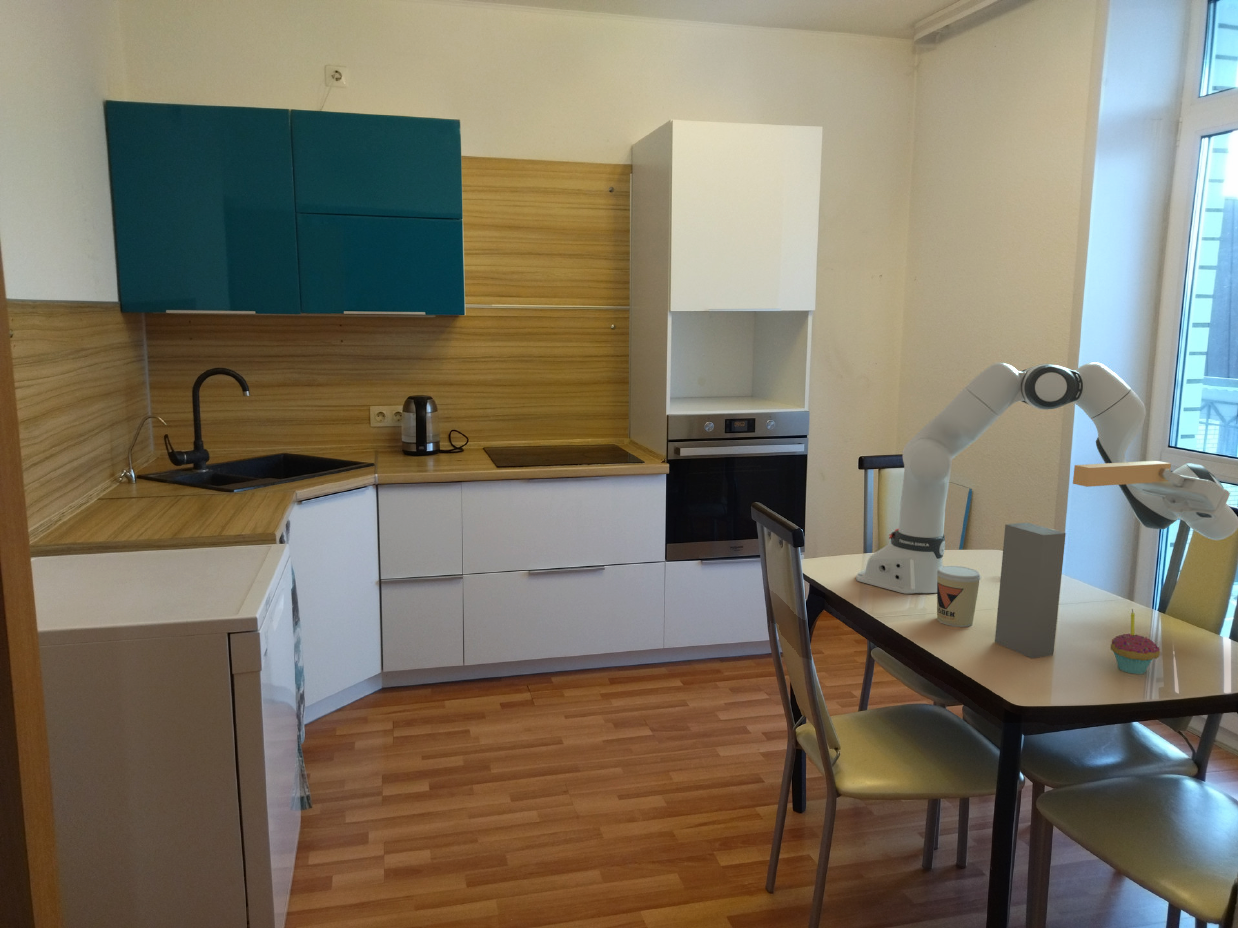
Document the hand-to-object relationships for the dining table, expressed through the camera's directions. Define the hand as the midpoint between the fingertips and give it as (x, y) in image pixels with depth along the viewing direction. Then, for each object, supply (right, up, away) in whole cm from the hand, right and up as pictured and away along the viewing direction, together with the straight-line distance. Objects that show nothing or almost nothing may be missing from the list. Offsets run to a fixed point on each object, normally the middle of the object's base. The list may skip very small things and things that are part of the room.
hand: (1152, 469), depth 193 cm
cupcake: (-14, -40, -16) cm, 45 cm away
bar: (-8, -3, -3) cm, 9 cm away
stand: (-31, -38, -5) cm, 49 cm away
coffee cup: (-39, -35, +11) cm, 54 cm away
